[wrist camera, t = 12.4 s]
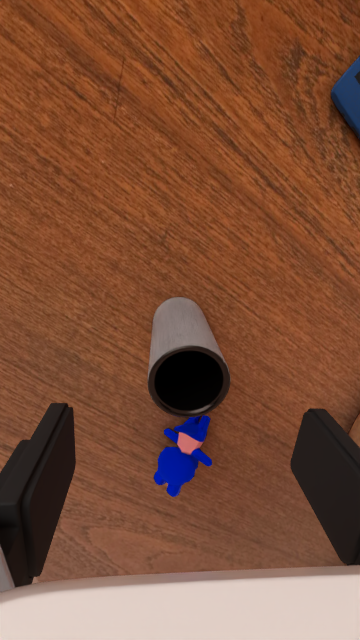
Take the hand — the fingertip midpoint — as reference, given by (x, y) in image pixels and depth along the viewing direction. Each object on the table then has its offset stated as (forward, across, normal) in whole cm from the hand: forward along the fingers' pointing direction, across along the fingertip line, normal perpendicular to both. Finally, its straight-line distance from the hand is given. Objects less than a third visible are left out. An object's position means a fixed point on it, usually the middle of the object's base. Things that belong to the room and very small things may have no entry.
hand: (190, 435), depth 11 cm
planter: (+14, -1, 0) cm, 15 cm away
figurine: (+14, -2, +12) cm, 19 cm away
